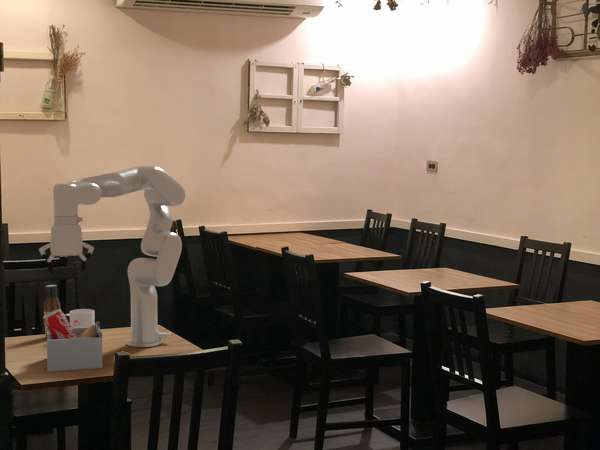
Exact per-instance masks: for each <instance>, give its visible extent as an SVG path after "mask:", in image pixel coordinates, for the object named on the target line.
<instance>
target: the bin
mask: <svg viewBox="0 0 600 450" xmlns="http://www.w3.org/2000/svg"><path fill="white" fill-rule="evenodd" d="M100 324H101V323H100V321H96V322H95V329H96V333H97V336H96V337H91V338H73V339H55V340H52V338H51V336H50V334H49V332H48V331H47V337H46V350H47V351H46V358H47V359H46V362H47V363H46V364H47V367H46V368H47V370H46V371H47V373H48V372H62V371H75V370H93V369H103V368H104V367H103V332H102V331H101V327H100V326H101V325H100ZM87 328H89V327H77V328H72V329H73V331H74V333H75V336H76V335H78V334H79V333H81V332H82V331H84V330H86V329H87Z"/></svg>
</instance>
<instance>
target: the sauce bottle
mask: <svg viewBox="0 0 600 450" xmlns="http://www.w3.org/2000/svg"><path fill="white" fill-rule="evenodd" d="M57 289H58V287H57V284H48V285H45V291H46V292H45V293H46V294H45V295H46V298H45V299H44V302H43V317H44V316H45V315H46V314H48V313H50V312H52V311H54V310H56V309H60V311H61V312H62V308H61V302H60V299H59V297H58V295H57V294H58V293H57ZM44 332H45V337H46V338H47V329H46V327H45V326H44Z"/></svg>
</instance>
